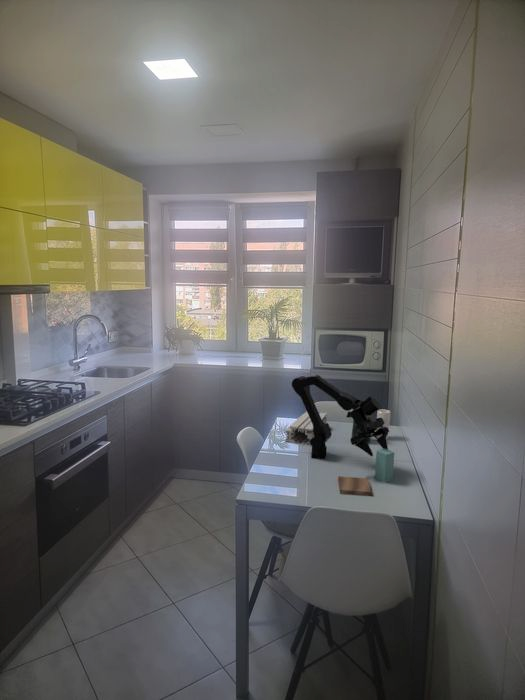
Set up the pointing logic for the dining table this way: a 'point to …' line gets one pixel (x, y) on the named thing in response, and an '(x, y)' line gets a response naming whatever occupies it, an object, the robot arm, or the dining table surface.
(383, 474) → the teal block
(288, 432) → the aluminum extrusion profile
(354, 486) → the walnut board
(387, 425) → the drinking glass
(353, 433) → the coffee jar
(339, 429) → the dining table surface
